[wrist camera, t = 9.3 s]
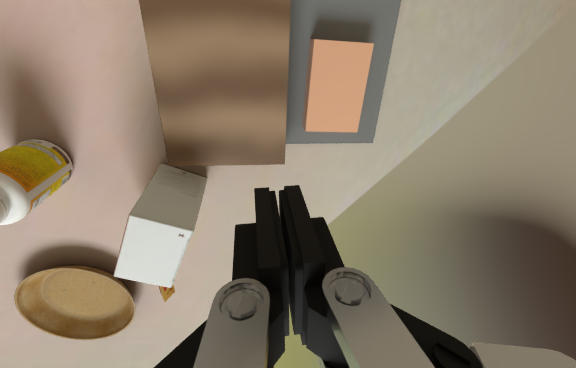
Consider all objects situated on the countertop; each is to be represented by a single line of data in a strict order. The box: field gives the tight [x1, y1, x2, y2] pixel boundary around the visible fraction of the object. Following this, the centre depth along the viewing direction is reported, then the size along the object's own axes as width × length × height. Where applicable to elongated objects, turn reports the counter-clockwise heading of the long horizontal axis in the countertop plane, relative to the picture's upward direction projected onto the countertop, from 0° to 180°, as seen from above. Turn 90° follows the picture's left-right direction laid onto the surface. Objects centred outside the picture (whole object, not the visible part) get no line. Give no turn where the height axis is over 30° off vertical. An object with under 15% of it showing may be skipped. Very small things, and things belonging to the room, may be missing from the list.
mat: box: [285, 0, 401, 144], centre depth 30 cm, size 16×11×1 cm
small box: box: [113, 164, 207, 288], centre depth 30 cm, size 8×6×10 cm
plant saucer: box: [14, 266, 136, 340], centre depth 39 cm, size 15×15×3 cm
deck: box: [139, 0, 291, 166], centre depth 27 cm, size 16×12×4 cm
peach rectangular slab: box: [302, 39, 374, 132], centre depth 29 cm, size 9×6×2 cm, turn 176°
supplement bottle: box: [0, 139, 73, 225], centre depth 26 cm, size 6×6×10 cm
